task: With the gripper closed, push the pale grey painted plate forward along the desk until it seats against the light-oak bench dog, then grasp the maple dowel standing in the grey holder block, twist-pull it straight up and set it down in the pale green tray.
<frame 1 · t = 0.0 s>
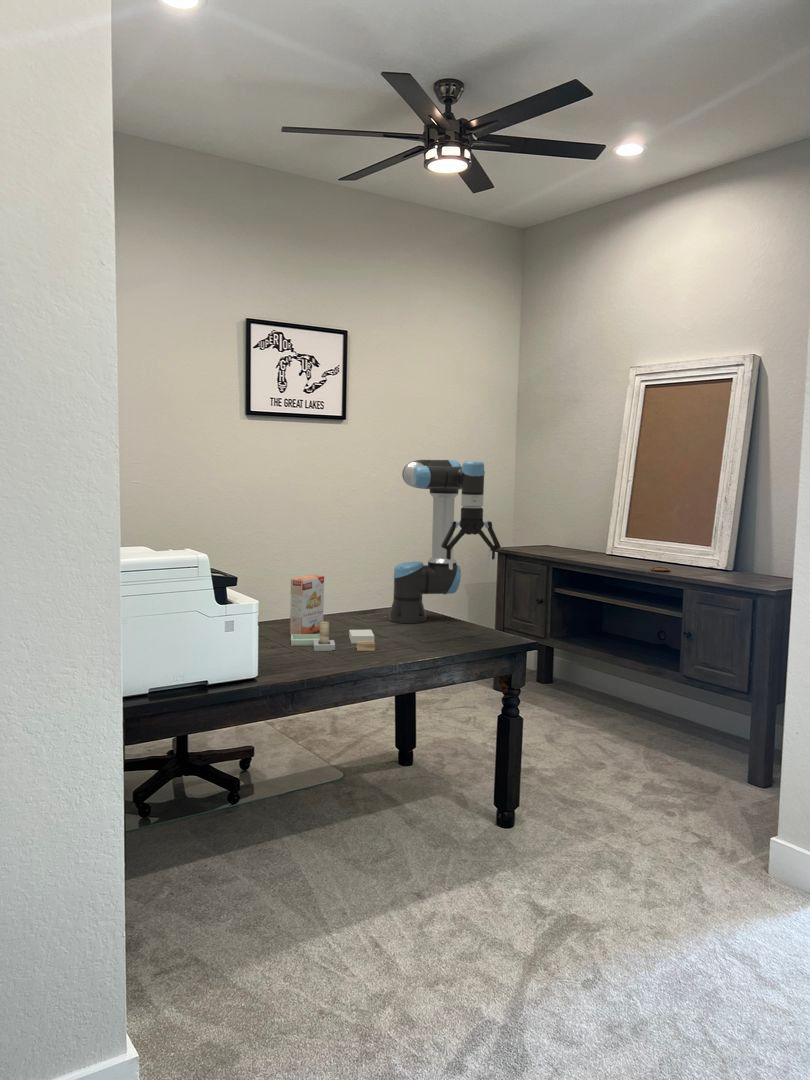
hand: (470, 569, 267), 28 cm above the table, fingers open, 13 cm apart
cracker box: (307, 633, 290), on the table
plate: (361, 641, 281), on the table
holder: (324, 648, 267), on the table
tray: (308, 642, 275), on the table
bench dog: (365, 649, 267), on the table
dowel: (324, 635, 267), in the holder
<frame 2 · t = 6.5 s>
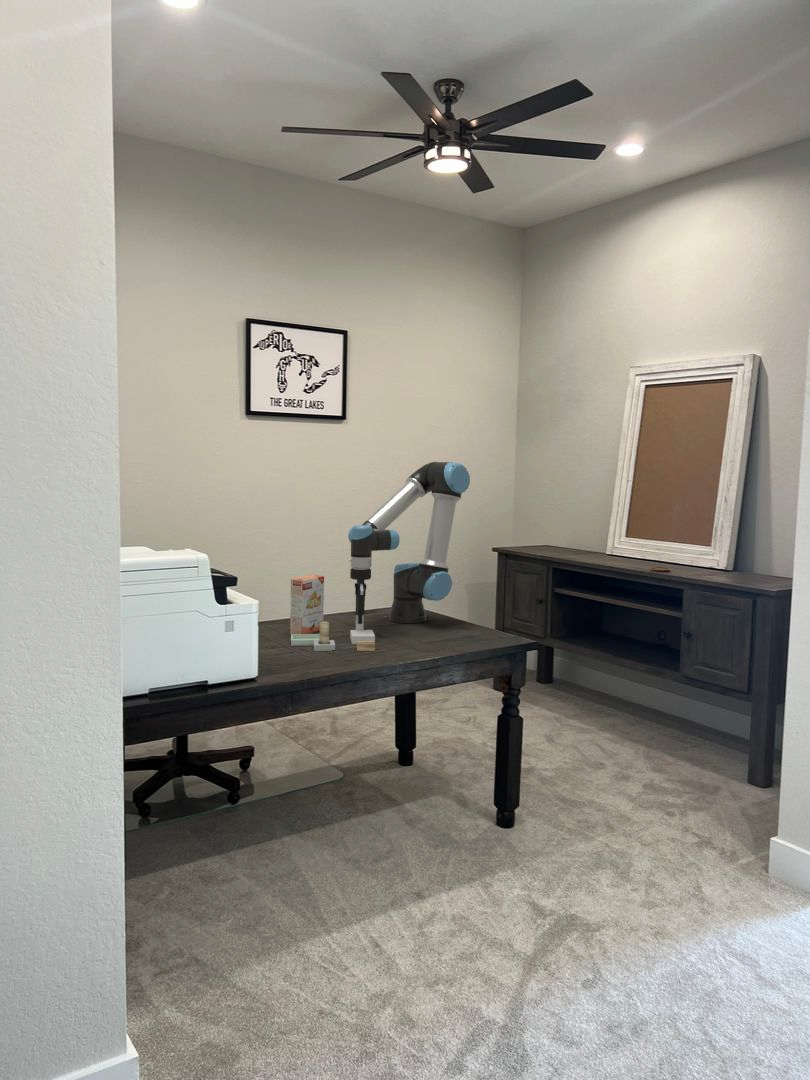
hand: (359, 631, 285), 2 cm above the table, fingers closed
plate: (362, 641, 279), on the table
everything else where it was.
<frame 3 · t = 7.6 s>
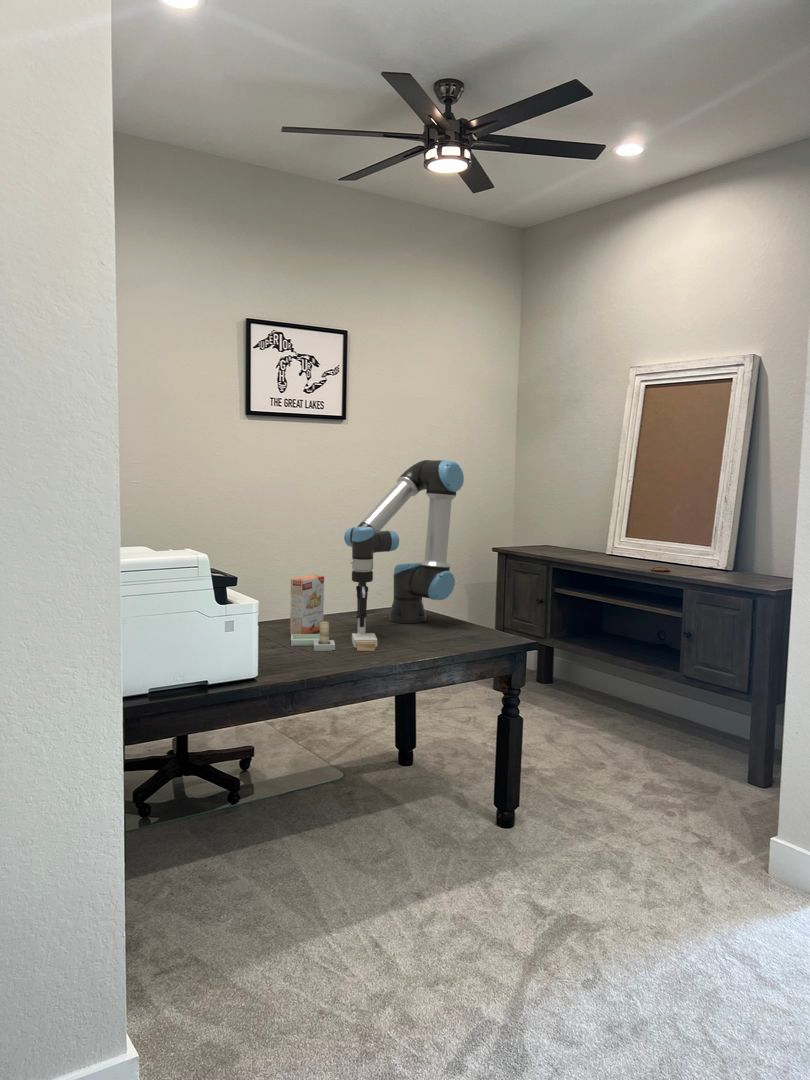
hand: (361, 635, 280), 2 cm above the table, fingers closed
plate: (364, 644, 275), on the table, touching gripper
everything else where it was.
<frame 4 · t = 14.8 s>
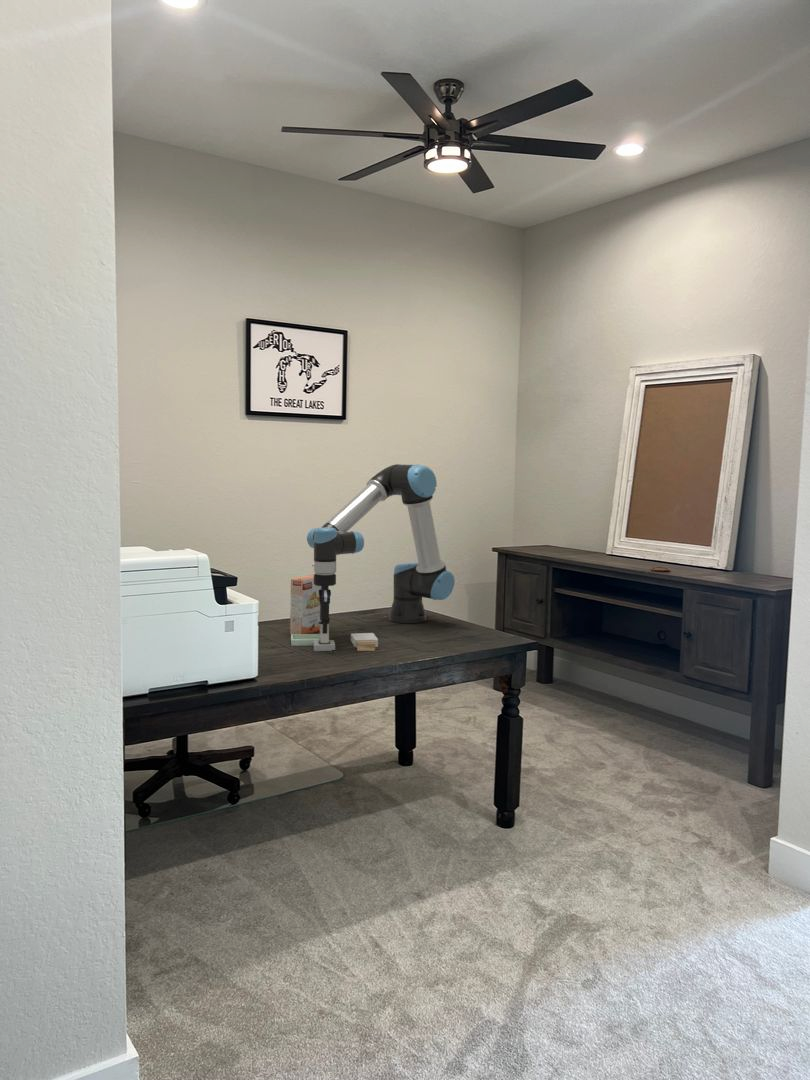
hand: (324, 641, 267), 3 cm above the table, fingers closed on dowel, 2 cm apart
plate: (364, 644, 275), on the table
dowel: (324, 634, 266), in the holder, touching gripper
everything else where it was.
when the fingers open (4 cm above the table, at t = 21.3 s): dowel drops 2 cm, resting on tray.
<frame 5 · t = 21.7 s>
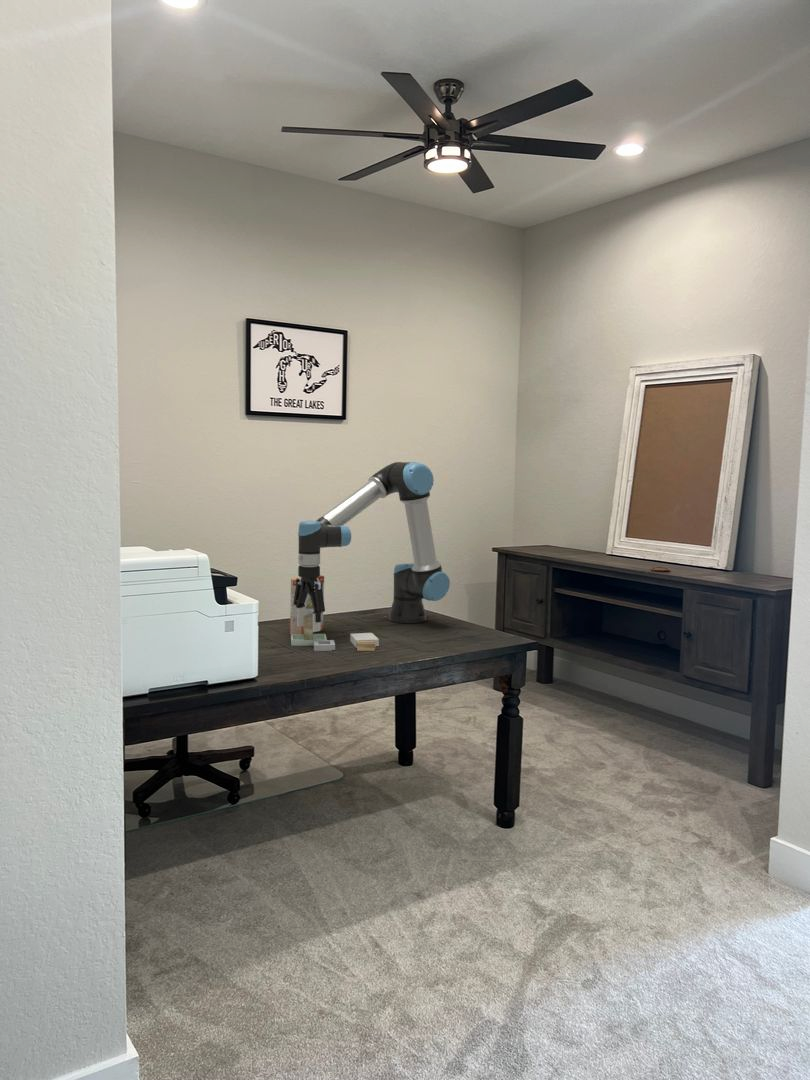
hand: (308, 628, 274), 5 cm above the table, fingers open, 9 cm apart
dowel: (308, 628, 274), in the tray
everything else where it was.
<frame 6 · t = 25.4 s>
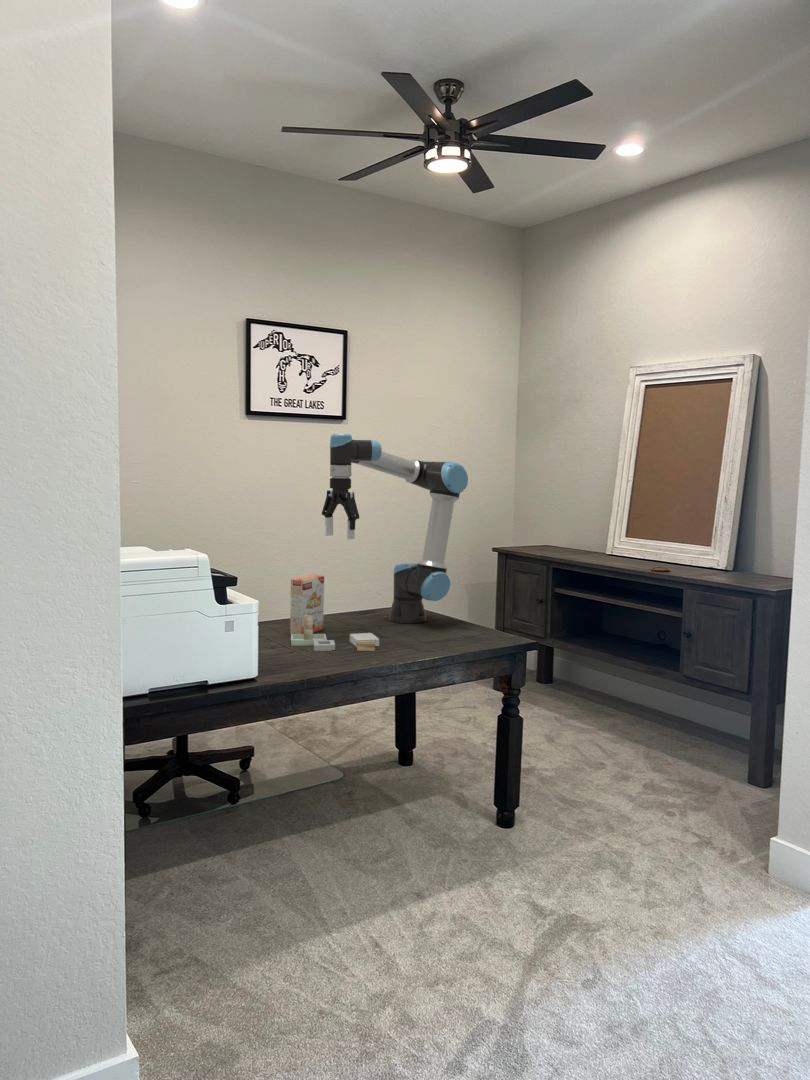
hand: (339, 537, 278), 37 cm above the table, fingers open, 13 cm apart
nothing on the table moved.
at the end: plate inside the target area (1.4 cm from its centre), on the table; plate tilted 0°; dowel inside the target area on the tray (0.1 cm from its centre), point 5.0 cm above the tray's base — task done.
